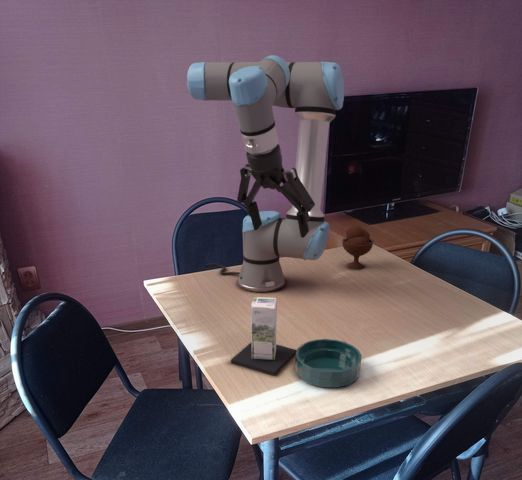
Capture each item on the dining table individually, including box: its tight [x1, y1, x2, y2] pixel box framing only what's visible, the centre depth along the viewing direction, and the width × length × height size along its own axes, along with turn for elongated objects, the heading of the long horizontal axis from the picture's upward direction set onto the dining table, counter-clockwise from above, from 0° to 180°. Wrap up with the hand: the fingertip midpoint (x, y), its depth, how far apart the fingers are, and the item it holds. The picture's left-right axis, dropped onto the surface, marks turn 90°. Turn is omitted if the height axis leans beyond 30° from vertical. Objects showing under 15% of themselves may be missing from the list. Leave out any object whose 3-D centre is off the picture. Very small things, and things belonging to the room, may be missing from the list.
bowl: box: [294, 338, 362, 388], centre depth 119 cm, size 15×15×4 cm
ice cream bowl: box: [341, 224, 374, 270], centre depth 177 cm, size 11×11×15 cm
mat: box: [230, 341, 297, 377], centre depth 125 cm, size 12×12×1 cm
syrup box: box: [250, 296, 278, 360], centre depth 121 cm, size 6×6×14 cm
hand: (280, 230), depth 124 cm, fingers open, 13 cm apart
